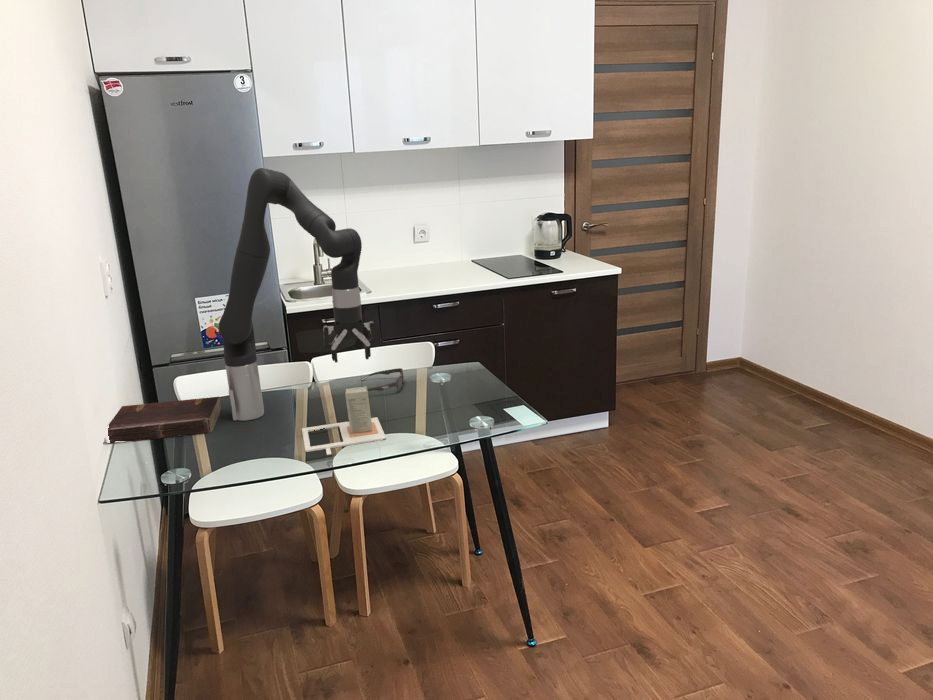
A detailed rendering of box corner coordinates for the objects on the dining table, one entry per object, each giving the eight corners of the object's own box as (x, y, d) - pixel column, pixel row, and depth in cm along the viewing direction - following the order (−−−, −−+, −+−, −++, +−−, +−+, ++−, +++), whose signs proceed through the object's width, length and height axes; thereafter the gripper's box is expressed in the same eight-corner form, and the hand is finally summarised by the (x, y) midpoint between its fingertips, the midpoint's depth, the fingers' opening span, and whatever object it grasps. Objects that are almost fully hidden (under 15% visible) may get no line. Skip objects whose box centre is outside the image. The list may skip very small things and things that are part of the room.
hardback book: (106, 445, 213) (103, 429, 211) (125, 421, 231) (122, 406, 229) (211, 434, 217) (208, 418, 215) (221, 411, 235) (219, 396, 233)
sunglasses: (402, 395, 239) (399, 381, 237) (351, 403, 240) (348, 389, 238) (407, 378, 254) (404, 364, 253) (359, 385, 256) (356, 372, 254)
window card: (306, 458, 197) (306, 455, 197) (302, 429, 215) (301, 427, 215) (388, 445, 202) (388, 442, 202) (377, 418, 221) (377, 416, 220)
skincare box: (372, 425, 214) (368, 385, 210) (372, 431, 210) (368, 390, 206) (349, 427, 213) (345, 387, 210) (349, 433, 209) (344, 393, 206)
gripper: (321, 309, 197) (326, 367, 202) (374, 304, 200) (379, 361, 205) (319, 302, 204) (325, 359, 209) (371, 298, 207) (375, 353, 212)
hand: (351, 360), depth 207 cm, fingers open, 8 cm apart
